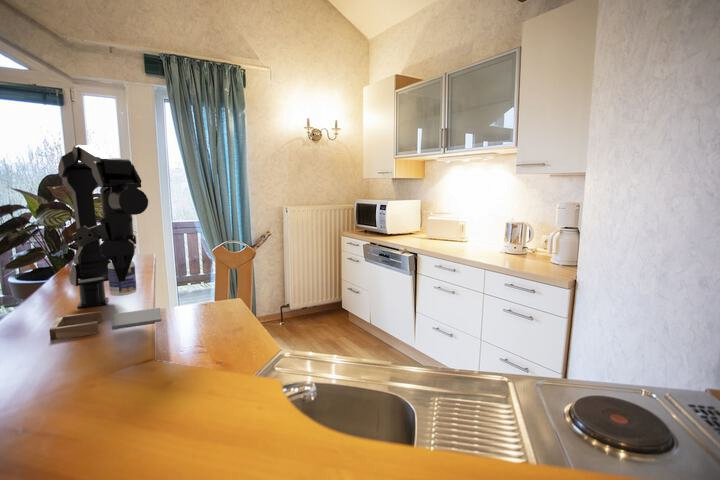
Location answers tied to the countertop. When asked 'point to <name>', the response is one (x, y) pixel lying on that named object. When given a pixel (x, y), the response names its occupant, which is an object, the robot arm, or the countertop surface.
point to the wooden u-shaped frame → (75, 325)
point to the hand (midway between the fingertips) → (122, 278)
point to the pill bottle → (124, 286)
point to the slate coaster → (136, 318)
